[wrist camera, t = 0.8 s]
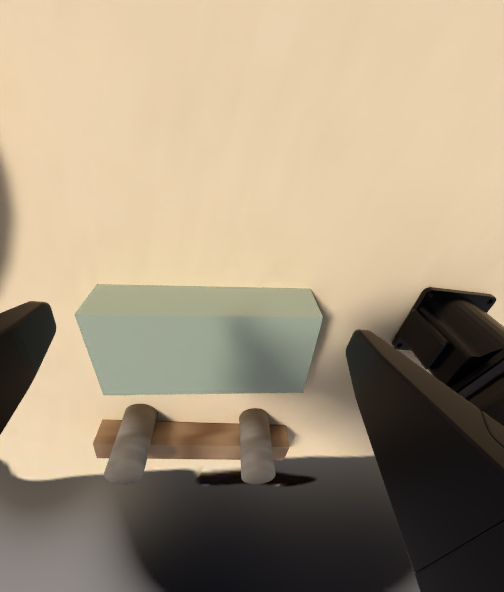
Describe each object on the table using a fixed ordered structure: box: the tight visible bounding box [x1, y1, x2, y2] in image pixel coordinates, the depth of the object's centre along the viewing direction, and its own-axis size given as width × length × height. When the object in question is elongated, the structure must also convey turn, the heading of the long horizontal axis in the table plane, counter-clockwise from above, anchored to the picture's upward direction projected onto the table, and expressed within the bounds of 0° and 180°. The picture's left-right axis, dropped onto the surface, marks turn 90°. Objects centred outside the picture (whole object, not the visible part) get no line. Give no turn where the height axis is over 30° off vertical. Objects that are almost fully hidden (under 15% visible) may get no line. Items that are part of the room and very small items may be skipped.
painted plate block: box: [75, 284, 323, 395], centre depth 22 cm, size 16×8×4 cm, turn 86°
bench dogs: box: [93, 404, 289, 484], centre depth 28 cm, size 20×6×6 cm, turn 81°
